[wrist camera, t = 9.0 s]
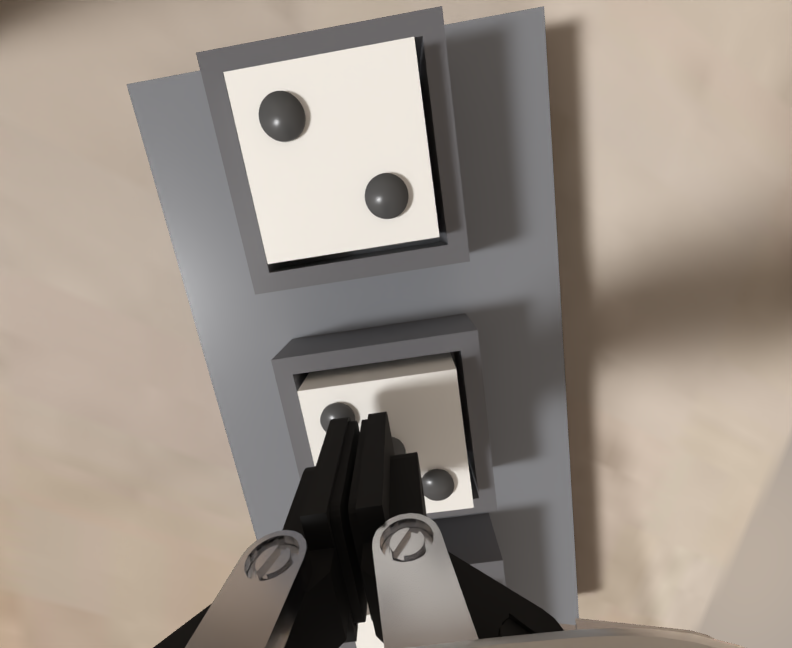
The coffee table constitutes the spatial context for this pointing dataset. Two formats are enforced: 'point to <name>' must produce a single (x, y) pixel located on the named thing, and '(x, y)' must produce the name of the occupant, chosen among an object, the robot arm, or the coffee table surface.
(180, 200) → the key board
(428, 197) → the two-dot tile
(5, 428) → the coffee table surface
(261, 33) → the coffee table surface
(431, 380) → the three-dot tile
